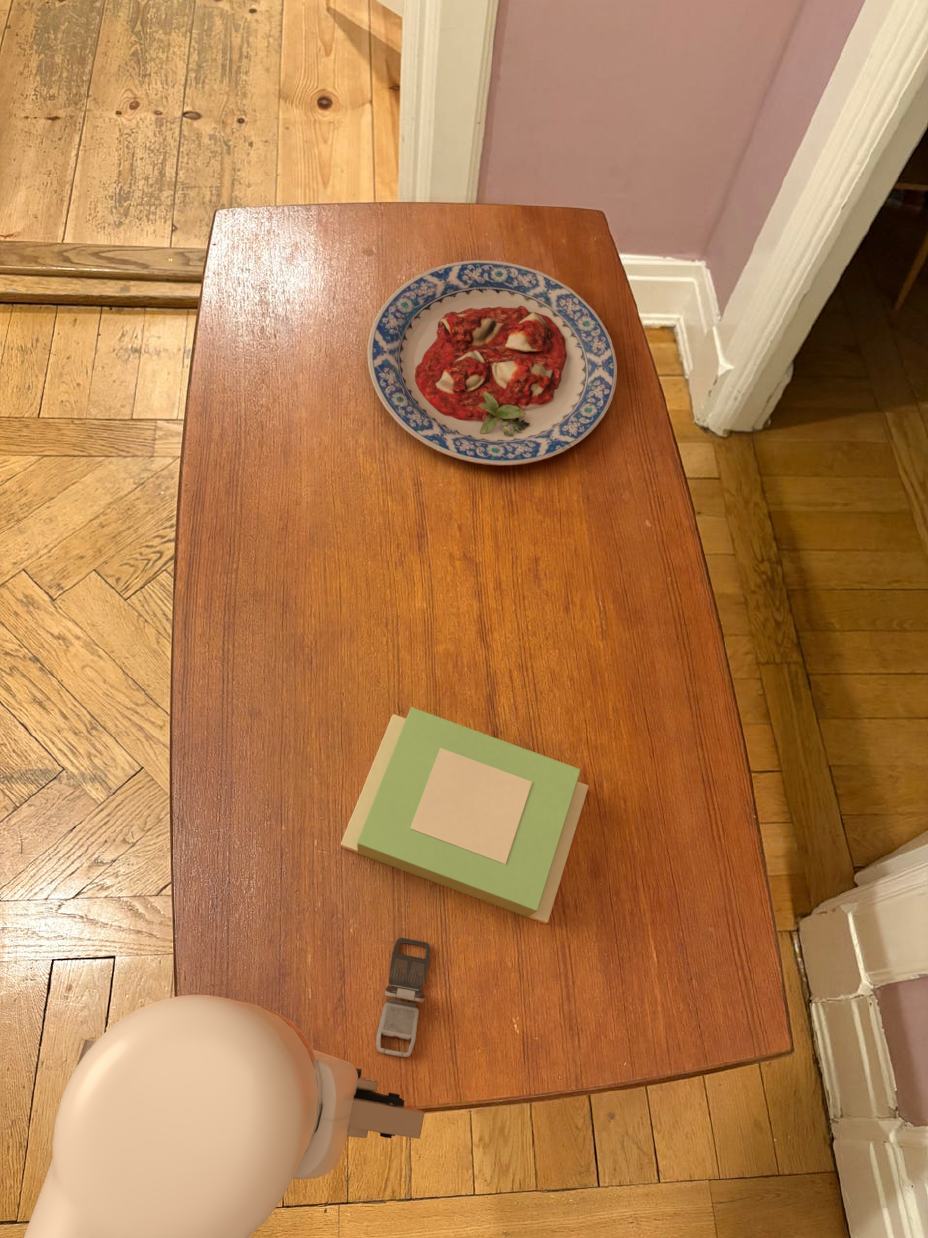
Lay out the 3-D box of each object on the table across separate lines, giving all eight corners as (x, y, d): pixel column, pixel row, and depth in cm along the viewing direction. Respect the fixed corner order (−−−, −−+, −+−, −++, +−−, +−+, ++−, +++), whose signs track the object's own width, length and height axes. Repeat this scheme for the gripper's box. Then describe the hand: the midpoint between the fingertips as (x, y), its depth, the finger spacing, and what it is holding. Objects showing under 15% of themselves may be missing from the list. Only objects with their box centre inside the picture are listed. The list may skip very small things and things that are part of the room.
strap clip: (411, 1059, 73) (414, 1061, 69) (373, 1052, 73) (373, 1053, 69) (432, 944, 76) (436, 939, 72) (395, 937, 76) (397, 932, 72)
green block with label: (545, 924, 78) (556, 918, 73) (340, 847, 78) (338, 836, 74) (586, 788, 82) (598, 774, 78) (392, 717, 83) (394, 699, 79)
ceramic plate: (392, 254, 104) (393, 233, 101) (622, 299, 105) (629, 279, 102) (344, 449, 94) (343, 431, 91) (599, 497, 94) (606, 481, 91)
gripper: (-17, 1160, 37) (96, 1121, 53) (415, 1253, 37) (400, 1186, 53) (54, 961, 40) (141, 980, 56) (452, 1047, 40) (428, 1042, 56)
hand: (267, 1080), depth 54 cm, fingers open, 9 cm apart
